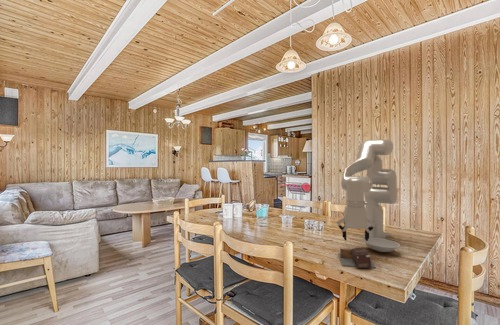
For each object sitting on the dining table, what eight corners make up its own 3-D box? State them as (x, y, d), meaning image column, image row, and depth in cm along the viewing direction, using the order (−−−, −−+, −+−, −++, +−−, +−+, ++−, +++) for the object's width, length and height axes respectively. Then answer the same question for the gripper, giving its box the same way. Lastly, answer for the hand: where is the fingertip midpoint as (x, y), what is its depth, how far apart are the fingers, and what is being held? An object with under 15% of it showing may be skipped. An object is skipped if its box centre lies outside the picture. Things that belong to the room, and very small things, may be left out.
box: (353, 261, 118) (357, 268, 111) (351, 248, 118) (355, 255, 111) (366, 259, 117) (371, 267, 110) (364, 247, 117) (369, 253, 110)
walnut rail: (368, 258, 121) (368, 250, 121) (369, 259, 120) (369, 251, 120) (340, 256, 124) (340, 248, 124) (340, 257, 123) (340, 249, 123)
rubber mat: (367, 256, 125) (367, 255, 125) (375, 268, 112) (375, 267, 112) (338, 254, 128) (338, 253, 128) (342, 266, 115) (342, 264, 115)
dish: (401, 251, 133) (401, 241, 133) (399, 260, 121) (399, 249, 121) (365, 244, 143) (365, 236, 142) (360, 252, 131) (360, 243, 131)
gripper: (372, 202, 122) (372, 237, 122) (335, 202, 125) (335, 236, 126) (377, 206, 115) (377, 243, 115) (337, 205, 118) (337, 241, 119)
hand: (355, 239), depth 121 cm, fingers open, 9 cm apart
